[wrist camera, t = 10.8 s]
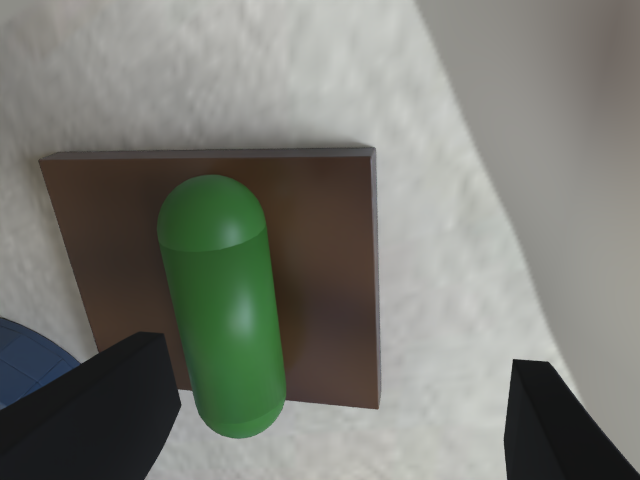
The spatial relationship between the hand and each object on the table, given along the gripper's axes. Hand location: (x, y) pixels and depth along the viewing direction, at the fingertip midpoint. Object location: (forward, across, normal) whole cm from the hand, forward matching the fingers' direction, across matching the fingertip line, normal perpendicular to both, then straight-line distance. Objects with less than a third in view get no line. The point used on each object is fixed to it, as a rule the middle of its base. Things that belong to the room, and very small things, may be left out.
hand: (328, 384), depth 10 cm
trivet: (+9, +6, +3) cm, 12 cm away
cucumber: (+8, +6, +3) cm, 10 cm away
